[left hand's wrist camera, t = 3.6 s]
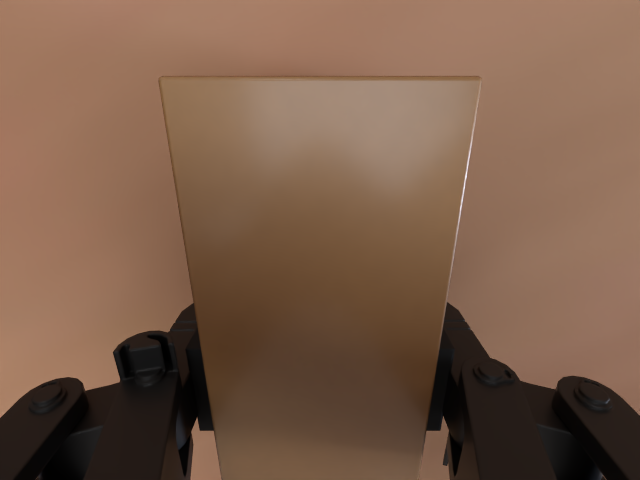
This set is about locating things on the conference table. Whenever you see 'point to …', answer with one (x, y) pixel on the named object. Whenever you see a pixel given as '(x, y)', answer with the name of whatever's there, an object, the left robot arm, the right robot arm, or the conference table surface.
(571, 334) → the conference table surface
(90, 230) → the conference table surface
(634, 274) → the conference table surface
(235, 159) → the bar
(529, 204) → the conference table surface
